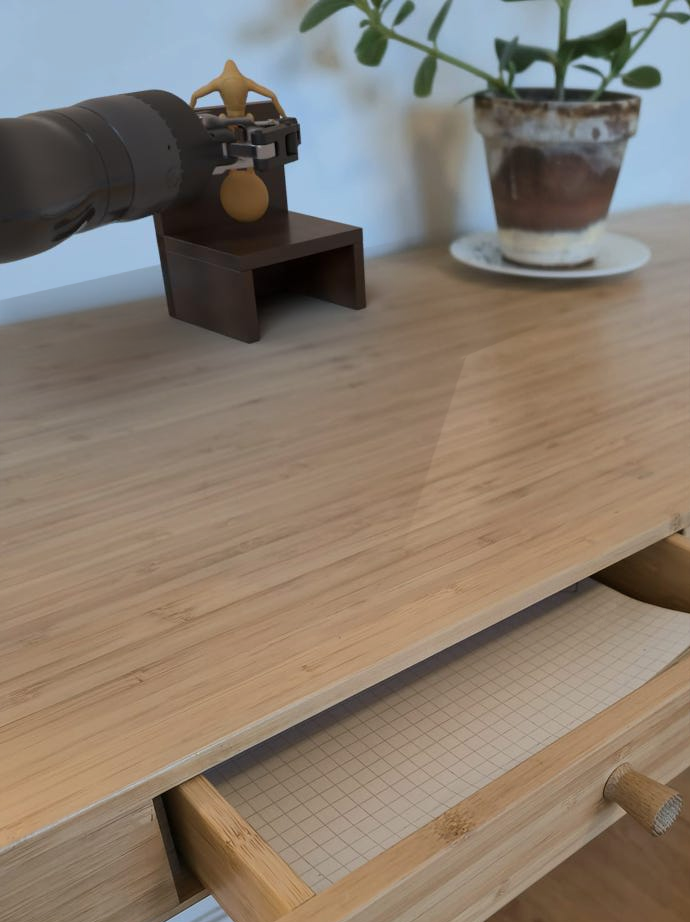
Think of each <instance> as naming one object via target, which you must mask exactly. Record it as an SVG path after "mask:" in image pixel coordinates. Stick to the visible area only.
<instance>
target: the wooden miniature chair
mask: <svg viewBox="0 0 690 922" xmlns="http://www.w3.org/2000/svg"><path fill="white" fill-rule="evenodd" d="M205 110H206V111H214V112H215V114H216V116H217V117H219V116H220V114H225V115H226V116H228V114H227V110H226V108H225V106H224V104H219V105H209V106H201V107H194V111H195V112H200V111H205ZM244 110H245V113H244V115H245V116H246V115H247V114H248V113H250V114H252V115H253V117H254V122H259V121H268V119H274V120H276V119H280V118H281V115H280V114H279V113H278V111H277V110H276V107H275V106H274V104H273V102H272V100H271V99H268V100H258V101H247V102H246V106H245V109H244ZM234 134H235V136H236V138H237V141H240V138H239V129H238V128H236V127H234ZM236 170H237V171H246V170H247V168H239V169H236ZM253 171H254V172H255V175H257V176H258V177H259V178H260V179H261V180H262V181H263V183H264V184H265V186H266V188H267V191H268V197H269V201H268V207H267V209H266V211H265V213H264V214H263V216H262V217H260V218H259V219H258V220H256V221H253V222H240V221H237V220H235V219H234V218H232V217H231V216H230V215H229V214H228V213H227V212H226V211H225V209H224V207H223V205H222V203H221V198H220V189H221V185H222V183H223V181H224V180H225V178H226V177H227V176H228V175H229V172H230V169H229V170H226V171H225V172H224V173H222V174H215V175H212V176H211V179H210V181H209V183H208V185H207V187H206V189H205V191H204V192H203V193H202V194H201V196H200V197H198V198H197V199H196V200H194V201H193V202H191V203H188V204H186V205H182V206H179V207H176V208H173V209H170V210H167V211H164V212H161V213H158V214H155V215H152V219H153V220H152V221H153V225H154V231H155V240H156V245H157V250H158V256H159V263H160V268H161V275H162V281H163V287H164V293H165V300H166V305H167V311H168V316H169V317H171V318H175V319H178V320H181V321H184V322H186V323H190V324H193V325H194V326H198V327H200V328H201V327H202V328H204V329H206V330H210V331H212V332H215V333H218V334H221V335H224V336H227V337H230V338H232V339H235V340H238V341H241V342H244V343H246V344H251V343H255V342H258V341H260V339H261V338H260V329H259V321H258V312H257V311H258V310H257V303H256V298H257V297H260V296H264V295H268V294H272V293H276V292H278V291H282V290H288V291H292V292H296V293H299V294H303V295H306V296H309V297H313V298H316V299H320V300H323V301H326V302H329V303H333V304H336V305H339V306H343V307H346V308H350V309H354V310H357V311H358V310H362V309H364V308H366V307H367V299H366V296H367V295H366V293H367V292H366V278H365V277H366V273H365V251H364V228H363V227H361V226H356V225H352V224H347V223H345V222H340V221H335V220H330V219H326V218H323V217H318V216H314V215H310V214H305V213H301V212H296V211H293V210H289V205H288V204H289V203H288V191H287V180H286V169H285V165H282V166H279V167H276V168H274V169H271V170H266V172H259V171H258V170H254V167H253Z"/></svg>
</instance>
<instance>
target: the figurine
mask: <svg viewBox="0 0 690 922" xmlns="http://www.w3.org/2000/svg"><path fill="white" fill-rule="evenodd" d="M214 92H215V93H216V92H218V93H219V96H220V98H221V100H222V103H223V105H224V106H225V108H226V110H227V114H228V116H236V115H242V116H245V115H244V113H245V110H244V109H245V106H246V103H247V101H248V96H249V92H253V93H255V94H258V95H261V96H262V97H265V98H268V99H270V100H272V102H273V104H274V106H275V107H276V110H277V111H278V113H279V114H280V117H281V118H285V117H288V115H287V114H286V112H285V110H284V109H283V107H282V105H281V104H280V102H279V99H278V96H277V95H276V94H275V93H274V91H272V90H270V89H269V88H267V87H265V86H263V85H261V84H258V83H257V82H256V81H254V80H253V79H251V78H249V77H246V76H245V75H244V74H243V73H241V71H240V69H239V68H238V66H237V65H236V63H235V61H234V60H232V59H227V60H226V61H225V63H224V67H223V70H222V72H221V73H220V74H219V76H218V77H215V78H213V79H212V80H211V81H209V82H208V83H207V84H205V85H203V86H201V87H199V88H198V89H196V90H195V91H193V93H192V94H191V96H190V101H189V103H188V105H189V106H190V107H191V108H192V109H193V110H194V108H196V105H197V102H198V99H201V98H204V97H206V96H208V95H210V94H213V93H214ZM221 116H226V115H225V114H220V116H219V117H221ZM246 117H250V118H252V119H253V120H254V117H253V115H252V114H250V113H248V114H247V115H246ZM228 127H229V128H231V130H232V131H233V133H234V127H236V128H238V127H237V126H228ZM220 198H221V203H222V205H223V207H224V209H225V211H226V212H227V213H228V214H229V215H230V216H231V217H232V218H234V219H235V220H237V221H240V222H253V221H256V220H258V219H259V218H260V217H262V216H263V214H264V213H265V211H266V209H267V207H268V201H269V197H268V191H267V188H266V186H265V184H264V183H263V181H262V180H261V179H260V178H259V177H258V176H257V175H255V172H254V171H253V167H249V168H247V170H246V171H237V170H236V169H230V172H229V175H228V176H227V177H226V178H225V180H224V181H223V183H222V185H221V189H220Z"/></svg>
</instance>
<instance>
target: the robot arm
mask: <svg viewBox="0 0 690 922" xmlns="http://www.w3.org/2000/svg"><path fill="white" fill-rule="evenodd" d="M228 126H237V127H238V129H239V138H240V141H237V138H236V136H235V134H234V133H233V131H232V130H231V128H229V127H228ZM301 144H302V134H301V124H300V123H298V119H297V118H296V117H293V116H287V117H285V118H282V117H280V119H276V120H274V119H268V121H259V122H254V120H253V119H252V118H250V117H246V116H242V115H236V116H221V117H217V116H216V114H215V112H214V111H206V110H205V111H200V112H195V111H194V110H193V109H192V108H191V107H190V106H189V103H187V102H186V101H185V100H184V99H182V98H181V97H179V96H178V95H176V94H175V93H172V92H170V91H167V90H163V89H155V88H153V89H152V88H151V89H145V90H138V91H131V92H125V93H124V92H123V93H119V94H111V95H105V96H99V97H93V98H89V99H85V100H82V101H79V102H76V103H75V104H72V105H69V106H64V107H57V108H50V109H43V110H38V111H34V112H29V113H25V114H22V115H19V116H18V117H0V265H5V264H9V263H14V262H18V261H21V260H25V259H28V258H31V257H34V256H37V255H41V254H43V253H46V252H48V251H50V250H52V249H54V248H56V247H57V246H59V245H61V244H62V243H63V242H65V241H67V240H68V239H70V238H71V237H73V236H75V235H80V234H84V233H86V232H90V231H93V230H96V229H100V228H102V227H105V226H109V225H112V224H121V223H122V224H124V223H130V222H136V221H138V220H139V221H140V220H142V219H146V218H148V217H151V216H153V215H155V214H158V213H161V212H164V211H167V210H170V209H173V208H176V207H179V206H182V205H186V204H188V203H191V202H193V201H194V200H196V199H197V198H198V197H200V196H201V194H202V193H203V192H204V191H205V189H206V187H207V185H208V183H209V181H210V179H211V176H212V175H215V174H222V173H224V172H225V171H226V170H229V169H239V168H249V167H254V170H258V171H259V172H266V170H271V169H274V168H276V167H279V166H282V165H284V166H285V165H288V164H292V163H294V162H297V161H299V159H300V158H299V146H300V145H301Z"/></svg>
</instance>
